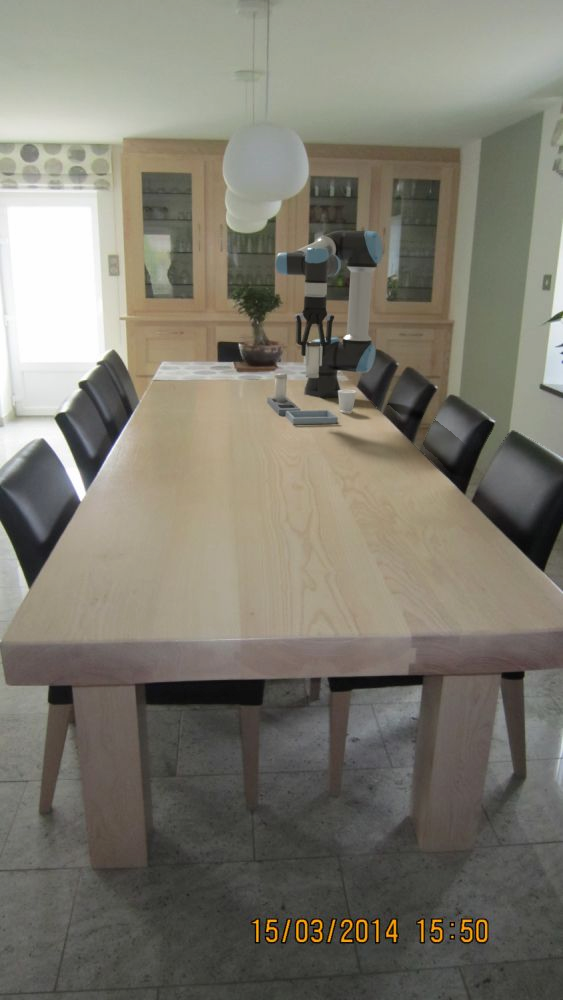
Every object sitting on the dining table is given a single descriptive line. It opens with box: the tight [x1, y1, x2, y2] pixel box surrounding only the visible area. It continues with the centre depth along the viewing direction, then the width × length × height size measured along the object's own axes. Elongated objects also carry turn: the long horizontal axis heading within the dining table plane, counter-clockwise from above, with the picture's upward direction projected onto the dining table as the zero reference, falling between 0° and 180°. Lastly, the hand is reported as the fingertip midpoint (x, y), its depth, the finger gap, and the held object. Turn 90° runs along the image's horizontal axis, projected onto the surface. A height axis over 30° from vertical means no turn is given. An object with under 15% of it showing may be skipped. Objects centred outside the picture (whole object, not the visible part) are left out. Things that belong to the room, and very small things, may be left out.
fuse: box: [274, 372, 288, 402], centre depth 285 cm, size 5×5×12 cm
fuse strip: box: [266, 396, 302, 416], centre depth 282 cm, size 8×22×2 cm, turn 12°
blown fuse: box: [305, 340, 320, 379], centre depth 259 cm, size 5×5×12 cm
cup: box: [337, 389, 358, 415], centre depth 281 cm, size 7×10×8 cm
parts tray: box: [285, 409, 339, 426], centre depth 266 cm, size 16×12×2 cm
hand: (312, 365), depth 260 cm, fingers closed on blown fuse, 4 cm apart
